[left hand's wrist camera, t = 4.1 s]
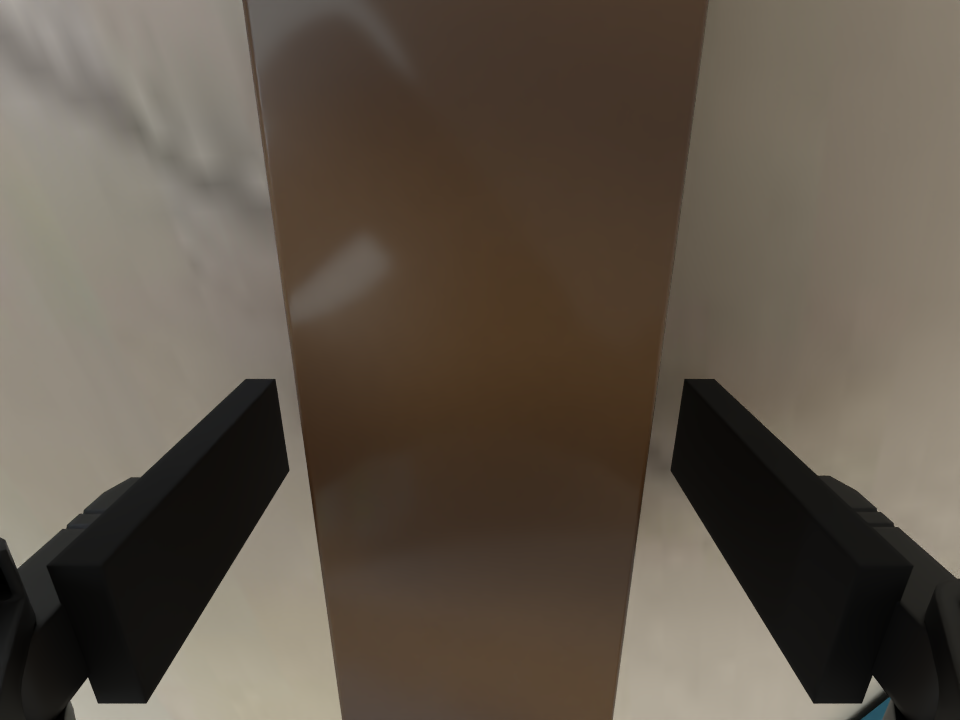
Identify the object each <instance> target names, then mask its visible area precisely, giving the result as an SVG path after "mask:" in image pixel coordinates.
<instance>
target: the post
mask: <svg viewBox="0 0 960 720" xmlns="http://www.w3.org/2000/svg"><path fill="white" fill-rule="evenodd" d="M242 1H243V8H244V15H245V22H246V30H247V37H248V44H249V51H250V58H251V66H252V73H253V80H254V87H255V94H256V102H257V109H258V116H259V123H260V131H261V138H262V145H263V152H264V159H265V167H266V174H267V181H268V188H269V195H270V203H271V210H272V217H273V224H274V231H275V239H276V246H277V253H278V260H279V268H280V275H281V282H282V289H283V296H284V304H285V311H286V318H287V325H288V332H289V340H290V347H291V354H292V361H293V368H294V376H295V383H296V390H297V397H298V405H299V412H300V419H301V426H302V433H303V441H304V448H305V455H306V462H307V469H308V477H309V484H310V491H311V498H312V505H313V513H314V520H315V527H316V534H317V542H318V549H319V556H320V563H321V570H322V578H323V585H324V592H325V599H326V606H327V614H328V621H329V628H330V635H331V642H332V650H333V657H334V664H335V671H336V679H337V686H338V693H339V700H340V707H341V715H342V720H613V714H614V706H615V699H616V691H617V684H618V676H619V669H620V661H621V654H622V646H623V639H624V631H625V624H626V616H627V609H628V601H629V594H630V586H631V579H632V571H633V564H634V556H635V549H636V541H637V534H638V526H639V519H640V511H641V504H642V497H643V489H644V482H645V474H646V467H647V459H648V452H649V444H650V437H651V429H652V422H653V414H654V407H655V399H656V392H657V384H658V377H659V369H660V362H661V354H662V347H663V339H664V332H665V324H666V317H667V309H668V302H669V294H670V287H671V279H672V272H673V264H674V257H675V249H676V242H677V234H678V227H679V219H680V212H681V204H682V197H683V189H684V182H685V174H686V167H687V159H688V152H689V145H690V137H691V130H692V122H693V115H694V107H695V100H696V92H697V85H698V77H699V70H700V62H701V55H702V47H703V40H704V32H705V25H706V17H707V10H708V2H709V0H242Z"/></svg>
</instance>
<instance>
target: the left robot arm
mask: <svg viewBox="0 0 960 720" xmlns="http://www.w3.org/2000/svg"><path fill="white" fill-rule="evenodd" d="M288 472H289V465H288V458H287V452H286V445H285V439H284V432H283V425H282V419H281V412H280V406H279V399H278V393H277V386H276V380H275V379H245V380H244V381H243V382H242V383H241V384H240V385H239V386H238V387H237V388H236V389H235V390H234V391H233V392H231V393H230V394H229V395H228V396H227V397H226V398H225V399H224V400H223V401H222V402H221V403H220V404H219V405H218V406H217V407H215V408H214V409H213V410H212V411H211V412H210V413H209V414H208V415H207V416H206V417H205V418H204V419H203V420H202V421H200V422H199V423H198V424H197V425H196V426H195V427H194V428H193V429H192V430H191V431H190V432H189V433H188V434H187V435H186V436H184V437H183V438H182V439H181V440H180V441H179V442H178V443H177V444H176V445H175V446H174V447H173V448H172V449H171V450H169V451H168V452H167V453H166V454H165V455H164V456H163V457H162V458H161V459H160V460H159V461H158V462H157V463H156V464H155V465H153V466H152V467H151V468H150V469H149V470H148V471H147V472H146V473H145V474H144V475H143V476H142V477H131V478H129V479H127V480H126V481H124V482H122V483H120V484H118V485H117V486H115V487H113V488H111V489H109V490H108V491H106V492H104V493H103V494H102V495H101V496H99V497H98V498H97V499H96V500H95V501H94V502H93V503H91V504H90V505H89V506H88V507H87V508H86V509H85V510H84V513H83V514H79V515H78V516H77V517H76V518H74V519H73V520H72V521H71V522H70V523H69V524H68V525H67V528H66V529H62V530H61V531H60V532H59V533H58V534H56V535H55V536H54V537H53V538H52V539H51V540H50V541H48V542H47V543H46V544H45V545H44V546H43V547H42V548H41V549H39V550H38V551H37V552H36V553H35V554H34V555H33V556H32V557H30V558H29V559H28V560H27V561H26V562H25V563H24V564H22V565H21V566H20V567H19V568H18V569H17V568H16V565H15V563H14V560H13V558H12V555H11V553H10V551H9V548H8V546H7V543H6V541H5V540H4V539H2V538H0V720H76V719H75V714H74V709H73V706H72V704H71V702H70V700H71V699H72V697H73V696H74V695H75V693H76V692H77V691H78V690H79V688H80V687H81V686H82V684H83V683H84V682H85V680H86V679H87V678H89V681H90V683H91V686H92V689H93V691H94V694H95V697H96V699H97V702H98V703H147V702H148V700H149V698H150V697H151V695H152V694H153V692H154V690H155V689H156V687H157V685H158V684H159V682H160V680H161V679H162V677H163V676H164V674H165V672H166V671H167V669H168V667H169V666H170V664H171V663H172V661H173V659H174V658H175V656H176V654H177V653H178V651H179V650H180V648H181V646H182V645H183V643H184V641H185V640H186V638H187V636H188V635H189V633H190V632H191V630H192V628H193V627H194V625H195V623H196V622H197V620H198V619H199V617H200V615H201V614H202V612H203V610H204V609H205V607H206V606H207V604H208V602H209V601H210V599H211V597H212V596H213V594H214V593H215V591H216V589H217V588H218V586H219V584H220V583H221V581H222V579H223V578H224V576H225V575H226V573H227V571H228V570H229V568H230V566H231V565H232V563H233V562H234V560H235V558H236V557H237V555H238V553H239V552H240V550H241V549H242V547H243V545H244V544H245V542H246V540H247V539H248V537H249V535H250V534H251V532H252V531H253V529H254V527H255V526H256V524H257V522H258V521H259V519H260V518H261V516H262V514H263V513H264V511H265V509H266V508H267V506H268V505H269V503H270V501H271V500H272V498H273V496H274V495H275V493H276V492H277V490H278V488H279V487H280V485H281V483H282V482H283V480H284V478H285V477H286V475H287V474H288ZM671 472H672V474H673V475H674V477H675V478H676V480H677V482H678V483H679V485H680V487H681V488H682V490H683V492H684V493H685V495H686V496H687V498H688V500H689V501H690V503H691V505H692V506H693V508H694V509H695V511H696V513H697V514H698V516H699V518H700V519H701V521H702V522H703V524H704V526H705V527H706V529H707V531H708V532H709V534H710V536H711V537H712V539H713V540H714V542H715V544H716V545H717V547H718V549H719V550H720V552H721V553H722V555H723V557H724V558H725V560H726V562H727V563H728V565H729V566H730V568H731V570H732V571H733V573H734V575H735V576H736V578H737V579H738V581H739V583H740V584H741V586H742V588H743V589H744V591H745V593H746V594H747V596H748V597H749V599H750V601H751V602H752V604H753V606H754V607H755V609H756V610H757V612H758V614H759V615H760V617H761V619H762V620H763V622H764V623H765V625H766V627H767V628H768V630H769V632H770V633H771V635H772V637H773V638H774V640H775V641H776V643H777V645H778V646H779V648H780V650H781V651H782V653H783V654H784V656H785V658H786V659H787V661H788V663H789V664H790V666H791V667H792V669H793V671H794V672H795V674H796V676H797V677H798V679H799V680H800V682H801V684H802V685H803V687H804V689H805V690H806V692H807V694H808V695H809V697H810V698H811V700H812V702H813V703H862V702H863V699H864V697H865V694H866V691H867V689H868V686H869V683H870V681H871V678H872V675H873V676H874V677H875V679H876V680H877V681H878V683H879V684H880V685H881V687H882V688H883V689H884V691H885V692H886V693H887V694H888V696H889V697H890V698H891V699H890V702H889V704H888V706H887V709H886V711H885V714H884V716H883V719H882V720H960V579H957V578H955V577H954V576H953V575H952V574H951V573H950V572H949V571H948V570H946V569H945V568H944V567H943V566H942V565H941V564H940V563H938V562H937V561H936V560H935V559H934V558H933V557H932V556H930V555H929V554H928V553H927V552H926V551H925V550H924V549H922V548H921V547H920V546H919V545H918V544H917V543H916V542H914V541H913V540H912V539H911V538H910V537H909V536H908V535H907V534H905V533H904V532H903V531H902V530H901V529H900V528H899V527H894V523H893V522H892V521H891V520H889V519H888V518H887V517H886V516H885V515H884V514H883V513H881V512H877V508H876V507H875V506H873V505H872V504H871V503H870V502H869V501H868V500H867V499H866V498H864V497H863V496H862V495H861V494H860V493H859V492H858V491H856V490H854V489H853V488H851V487H849V486H847V485H845V484H844V483H842V482H840V481H838V480H836V479H834V478H833V477H831V476H817V475H816V474H815V473H814V472H813V471H812V470H811V469H810V468H809V467H808V466H807V465H805V464H804V463H803V462H802V461H801V460H800V459H799V458H798V457H797V456H796V455H795V454H794V453H793V452H792V451H791V450H789V449H788V448H787V447H786V446H785V445H784V444H783V443H782V442H781V441H780V440H779V439H778V438H777V437H776V436H774V435H773V434H772V433H771V432H770V431H769V430H768V429H767V428H766V427H765V426H764V425H763V424H762V423H761V422H760V421H758V420H757V419H756V418H755V417H754V416H753V415H752V414H751V413H750V412H749V411H748V410H747V409H746V408H745V407H743V406H742V405H741V404H740V403H739V402H738V401H737V400H736V399H735V398H734V397H733V396H732V395H731V394H730V393H729V392H727V391H726V390H725V389H724V388H723V387H722V386H721V385H720V384H719V383H718V382H717V381H716V380H715V379H685V380H684V386H683V393H682V399H681V406H680V412H679V419H678V425H677V432H676V438H675V445H674V451H673V458H672V465H671Z"/></svg>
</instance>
